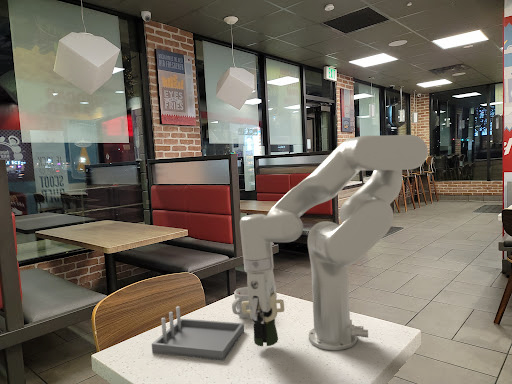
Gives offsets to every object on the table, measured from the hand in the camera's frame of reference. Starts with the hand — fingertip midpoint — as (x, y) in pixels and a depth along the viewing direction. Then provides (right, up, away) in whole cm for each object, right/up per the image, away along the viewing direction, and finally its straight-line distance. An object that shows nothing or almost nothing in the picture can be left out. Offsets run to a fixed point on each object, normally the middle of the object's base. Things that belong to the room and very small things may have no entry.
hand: (265, 330), depth 95 cm
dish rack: (-18, -6, +6) cm, 20 cm away
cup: (-6, -4, +22) cm, 23 cm away
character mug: (0, -3, 0) cm, 4 cm away
